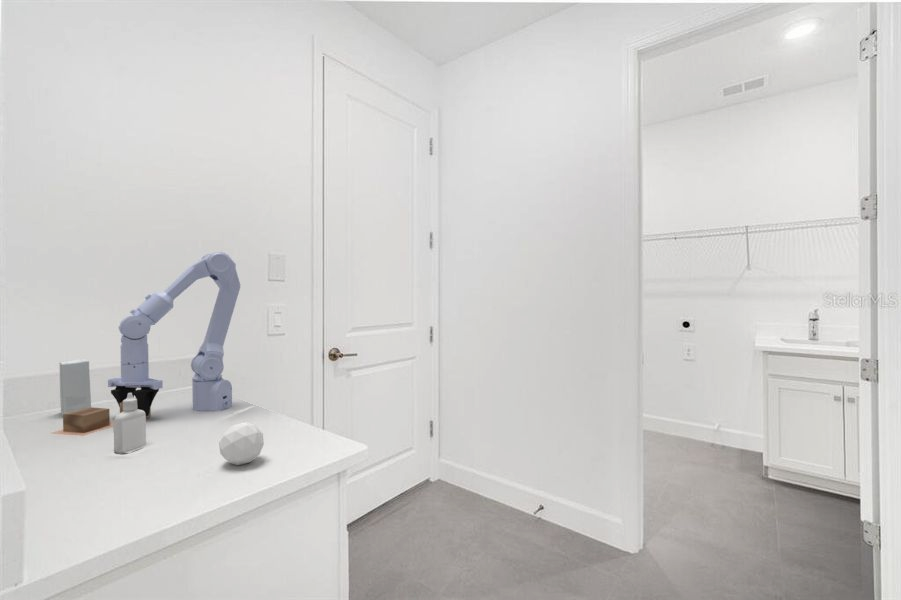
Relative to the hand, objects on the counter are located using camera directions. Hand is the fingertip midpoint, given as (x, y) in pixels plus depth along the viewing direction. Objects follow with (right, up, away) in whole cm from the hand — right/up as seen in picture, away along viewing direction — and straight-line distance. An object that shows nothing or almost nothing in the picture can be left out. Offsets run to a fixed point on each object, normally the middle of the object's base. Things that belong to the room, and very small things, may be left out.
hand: (135, 416), depth 112 cm
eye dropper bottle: (+13, -2, -20) cm, 24 cm away
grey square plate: (-3, -2, -4) cm, 6 cm away
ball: (+40, -2, -26) cm, 48 cm away
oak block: (0, -1, 0) cm, 1 cm away
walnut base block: (-6, -1, -8) cm, 10 cm away
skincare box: (-19, -2, +5) cm, 20 cm away
